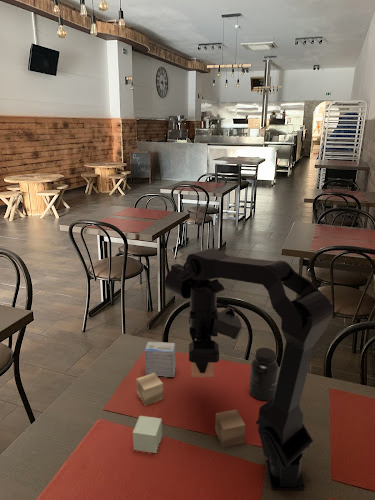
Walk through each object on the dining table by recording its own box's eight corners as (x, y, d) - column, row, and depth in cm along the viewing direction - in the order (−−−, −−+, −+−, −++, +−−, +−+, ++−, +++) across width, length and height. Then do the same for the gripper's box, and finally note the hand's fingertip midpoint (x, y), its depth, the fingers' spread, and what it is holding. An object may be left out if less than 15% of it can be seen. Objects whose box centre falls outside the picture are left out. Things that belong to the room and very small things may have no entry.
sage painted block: (156, 454, 83) (155, 435, 81) (133, 451, 84) (132, 432, 82) (162, 436, 88) (161, 418, 86) (140, 433, 89) (139, 415, 87)
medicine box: (175, 369, 111) (175, 342, 108) (173, 378, 107) (173, 351, 104) (148, 367, 112) (147, 340, 109) (145, 377, 108) (144, 349, 105)
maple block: (163, 399, 99) (162, 383, 98) (145, 406, 97) (144, 389, 95) (155, 388, 103) (154, 372, 102) (137, 394, 101) (136, 378, 99)
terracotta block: (213, 377, 89) (213, 358, 87) (191, 376, 89) (191, 358, 87) (212, 363, 94) (212, 345, 92) (191, 363, 94) (191, 345, 92)
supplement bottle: (278, 401, 98) (282, 360, 95) (251, 401, 99) (253, 360, 95) (273, 384, 105) (276, 345, 101) (247, 383, 105) (249, 344, 101)
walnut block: (244, 443, 86) (245, 425, 84) (222, 448, 85) (223, 429, 83) (235, 426, 90) (236, 409, 89) (215, 431, 89) (215, 413, 88)
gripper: (245, 326, 77) (242, 392, 82) (235, 287, 95) (232, 343, 100) (189, 326, 77) (188, 392, 82) (189, 287, 95) (189, 343, 100)
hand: (202, 365), depth 91 cm, fingers closed on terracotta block, 5 cm apart
